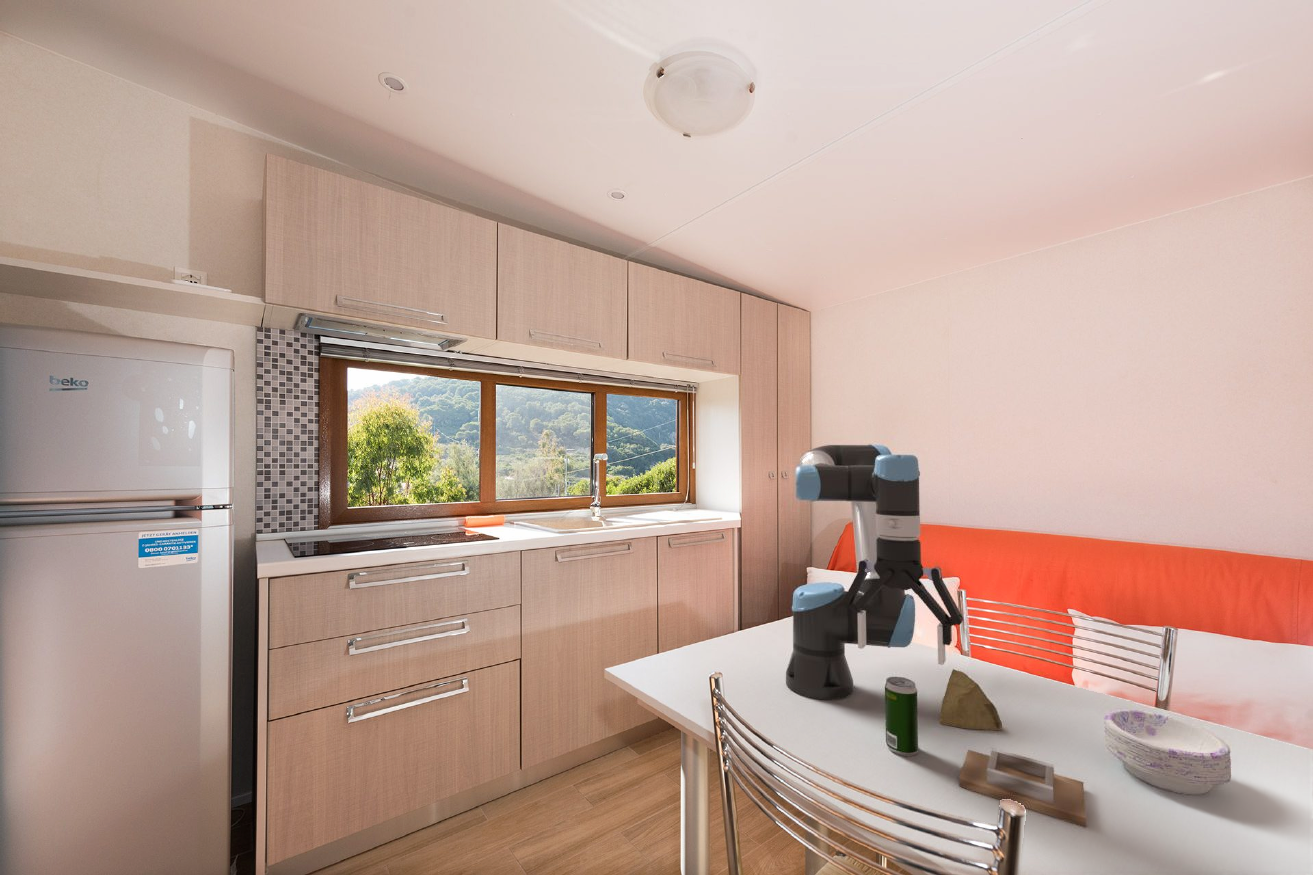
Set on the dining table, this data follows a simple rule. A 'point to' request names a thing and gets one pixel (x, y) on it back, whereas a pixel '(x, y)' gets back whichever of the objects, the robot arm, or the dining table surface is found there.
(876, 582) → the robot arm
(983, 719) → the rock
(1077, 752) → the dining table surface
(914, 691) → the beer can
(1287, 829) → the dining table surface
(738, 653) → the dining table surface
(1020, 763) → the socket board
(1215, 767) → the paper bowls
